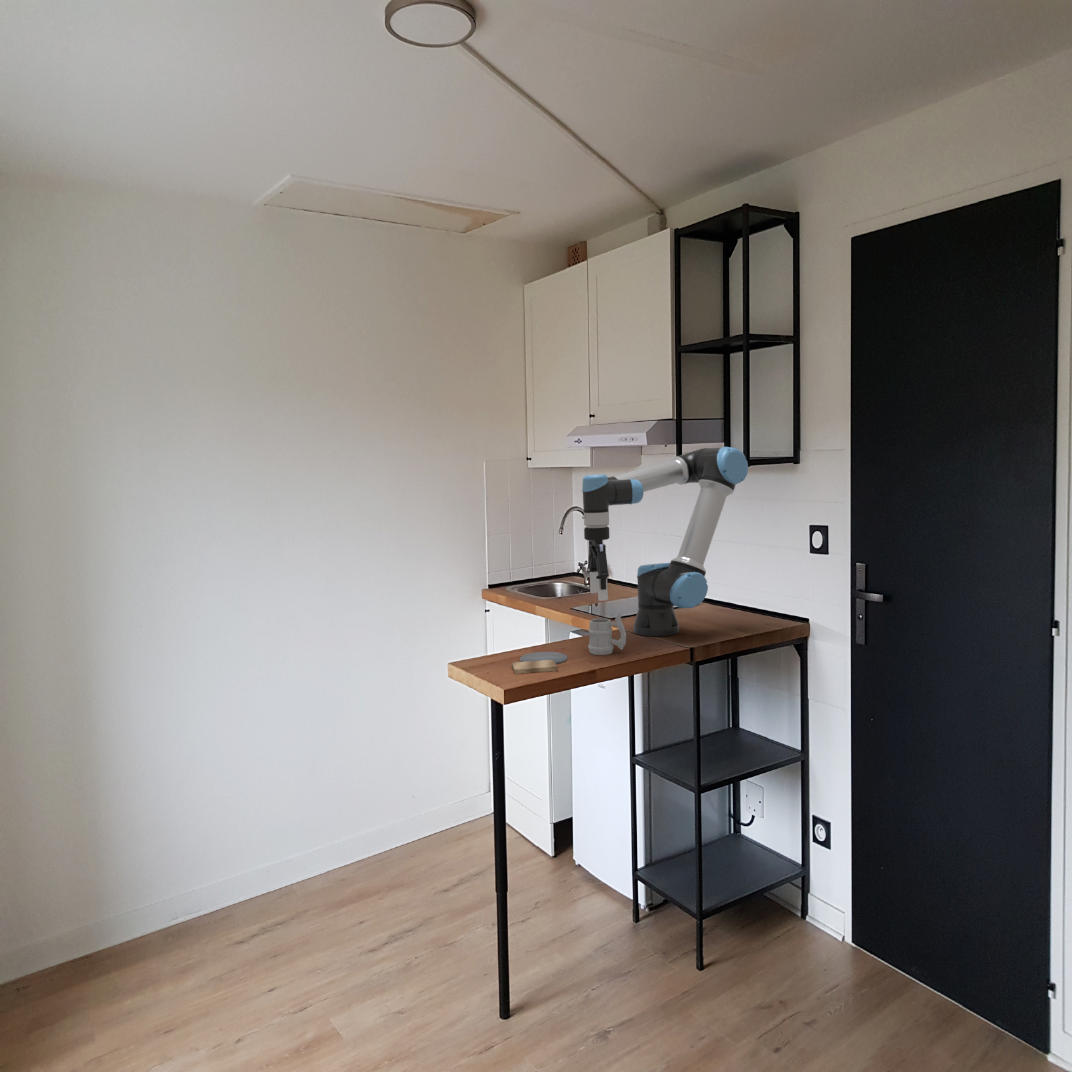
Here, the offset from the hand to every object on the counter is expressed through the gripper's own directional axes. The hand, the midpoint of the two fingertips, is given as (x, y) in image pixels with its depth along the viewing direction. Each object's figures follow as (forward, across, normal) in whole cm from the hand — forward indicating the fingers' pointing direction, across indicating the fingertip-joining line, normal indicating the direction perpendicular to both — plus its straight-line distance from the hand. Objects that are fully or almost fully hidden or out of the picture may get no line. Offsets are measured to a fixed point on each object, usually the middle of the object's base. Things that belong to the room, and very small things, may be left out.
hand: (598, 596), depth 242 cm
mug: (+17, +1, +2) cm, 18 cm away
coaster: (+17, +4, -18) cm, 25 cm away
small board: (+17, +14, -22) cm, 31 cm away
